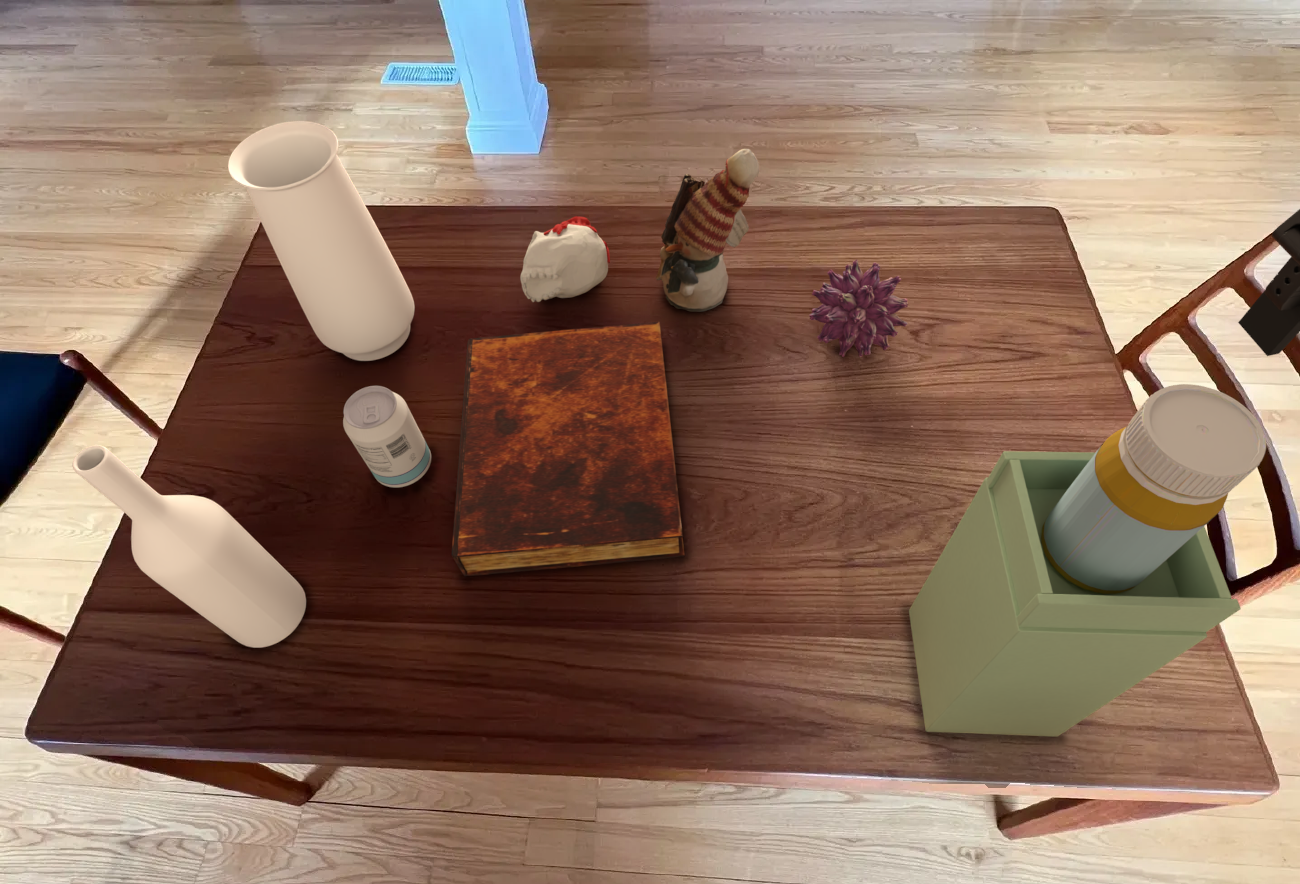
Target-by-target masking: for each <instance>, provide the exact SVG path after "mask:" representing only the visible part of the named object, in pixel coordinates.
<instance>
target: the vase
mask: <svg viewBox="0 0 1300 884" xmlns="http://www.w3.org/2000/svg"><path fill="white" fill-rule="evenodd" d="M339 146H340V145H339V139H338V137H337V135H336V134H335V132H334V131H333V130H332V129H330V128H329V127H327V125H324V124H322V123H318V122H315V121H309V120H290V121H285V122H279V123H275V124H271V125H268V126H266V127H264V128H262V129H260V130H259V129H258V130H257V131H255V132H253V133H251V134H250V135H249V136H247V137H246V138H244V139H243V140H242V141H241V142H239V144H237V146H236V147H235V149H233V151H232V153H231V154H230V156H229V159H228V163H227V169H228V174H229V176H230V177H231V179H232V180H233V181H234V182H235V183H236V184H238V185H239V186H241V187H244V188H245V190H246V192H247V194H248V197H249V198H250V200H251V203H252V205H253V208H254V209H255V212H256V214H257V216H258V219H259V221H260V223H261V225H262V227H263V229H264V231H265V233H266V236H267V238H268V240H269V242H270V244H271V246H272V248H273V251H274V253H275V255H276V257H277V259H278V261H279V263H280V265H281V268H282V270H283V272H284V275H285V276H286V278H287V280H288V282H289V285H290V286H291V289H292V290H293V292H294V296H295V297H296V299H297V301H298V303H299V305H300V307H301V309H302V311H303V313H304V315H305V317H306V320H307V321H308V323H309V324H310V326H311V328H312V330H313V332H314V333H315V335H316V337H317V338H318V339H319V342H321V343H322V344H323V345H324V346H326V347H327V348H328V349H330V350H331V351H335V352H337V353H341V354H342V355H344V356H345V357H347V358H349V359H352V360H354V361H358V362H370V361H376V360H380V359H383V358H385V357H388V356H390V355H392V354H393V353H395V352H396V351H398V350H399V349H400V348H401V347H402V346H403V345H404V344H405V342H406V341H407V339H408V338H409V336H410V332H411V324H412V322H413V319H414V316H415V308H416V307H415V301H414V297H413V294H412V292H411V290H410V288H409V286H408V284H407V282H406V280H405V277H404V276H403V274H402V272H401V270H400V268H399V266H398V264H397V262H396V260H395V258H394V256H393V255H392V252H391V251H390V248H389V247H388V244H387V243H386V241H385V239H384V238H383V236H382V234H381V232H380V229H379V228H378V227H377V224H376V222H375V220H374V219H373V217H372V215H371V213H370V211H369V209H368V207H367V206H366V204H365V202H364V201H363V198H362V197H361V195H360V193H359V191H358V190H357V188H356V186H355V184H354V183H353V181H352V179H351V177H350V175H349V173H348V171H347V170H346V168H345V166H344V164H343V163H342V160H341V159H340V157H339V155H338V153H339V148H340V147H339Z"/></svg>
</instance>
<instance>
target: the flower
mask: <svg viewBox="0 0 1300 884" xmlns="http://www.w3.org/2000/svg"><path fill="white" fill-rule="evenodd" d="M844 268H845V270H843V271H842V275H841V274H839V273H837V272H834V271H833V269H830V270H828V271H827V272H826V274H827V275H828V277H829V283H830V284H829V283H826V282H823V283H822V285H821V287H820V288H819V290H815V289H813V291H812V293H811V295H812V296H814V297H816V298H817V300H819V302H820V303H821V304H820V305H819V306H818V307H815V308H812V310H811V313H810V314H809V315H808V316H809V319H810V321H817V322H819V323H822V324H823V327H822V329H821V331H820V333H819V334H818V335H817V336H816V338H817V340H818V342H819V343H823V342H824V343H825V344H828V343H829V342H832V341H835V340H838V344H839V354H838V355H839V356H841V357H843V358H844V357H845V356H846V353H847V351H848V350H850V349H851V348H852V347H853V346H854V347H855V349H856V351H857V352H858V357H859V358H861V357H863V355H865V356H869V355H871V354H872V353H871V347H872V345H877V346H879V347H880V348H881V349H882V350H883V351H884V352H885V351H887V350H888V348H891V345H890V344H889V339H888V337H889V336H890V337H892V338H896V336H898V333H899V331H898V330H897V329H896V328H895V327H900V326H901V327H907V325H908V322H907V321H905V320H903V319H902V318H901V317H899V315H898V314H896V313H898V312H899V311H900V310H902V309H905V308H908V305H909V302H908V298H907V297H905V298H901V297H898V296H896V295H893V294H894V292H895V290H896V288H897V285H898V284H900V282H901V281H902V278H901V277H900V275H896V276H895V277H891V276H890V277H889V278H887V279H884V280H881V279H880V274H879V273H880V270H881V266H880V263H877V262H875V261H874V262H873V263H872V265H871V266H870V267H869V268H868V269H867V270H866V271H865V272H863V271H862V269H861V267H860V266H859V260H858V259H854V260H853V261H852V263H850V264H849V263H848V264H846V265H845V267H844ZM880 280H881V281H880Z"/></svg>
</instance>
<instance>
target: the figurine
mask: <svg viewBox="0 0 1300 884" xmlns="http://www.w3.org/2000/svg"><path fill="white" fill-rule="evenodd" d="M724 166H725V169H722V170H721V171H720V172H717V173H715V174H714V176H712V177H711V178H710V179H709V180H707V182H706V181H705V180H697V179H696V178H695V177H693V176H692V174H691V175H690V174H689V173H685V174H684V175H683V178H682V181H681V184H680V187H679V189H678V192H677V194H676V197H675V200H674V201H673V204H672V205H671V210H670V213H669V215H668V217H667V218H666V221H665V223H664V226H665V227H664V229H663V231H662V234H661V235H660V238H661V243H662V244H663V245H664V246H662V247H661V248H660V251H659V257H660V264H659V266H658V270H657V275H656V276H655V280H656V281H662V284H663V291H664V294H665V299H666V300H667V301H668V303H669V304H670V305H671V306H674V308H675V309H678V310H684V311H688V312H692V313H693V312H698V313H700V312H706V311H709V310H711V309H714V308H716V307H718V306H720V305H721V304H722V303H723V301H724V299H725V296H726V293H727V290H728V283H729V275H728V272H727V266H726V263H725V256H724V255H723V254H724V250H725V248H726V244H727V245H728V246H730V247H732V248H736V247H738V246H739V245H740V244H741V241H742V239H743V237H744V236H745V235H746V233H748V232H749V229H750V226H749V223H748V220H747V218H746V216H745V215H744V213H743V210H742V208H743V207H744V205H746V203H747V200H748V198H749V197H750V187H751V186H752V184H753V183H754V182H755V180H756V178H758V177H759V175H760V162H759V160H758V158H757V157H756V155H755V153H754V152H753V151H752V150H751V149H750V148H742V149H739V150H738V151H737V152H735V153H734V154H733V155H731V156H730V157H729V158H727V159H726V160H725V164H724Z"/></svg>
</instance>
